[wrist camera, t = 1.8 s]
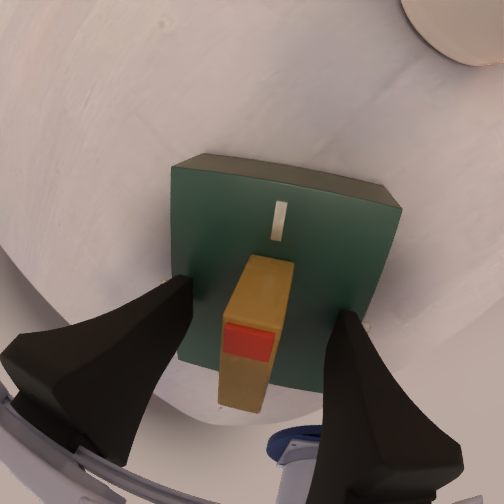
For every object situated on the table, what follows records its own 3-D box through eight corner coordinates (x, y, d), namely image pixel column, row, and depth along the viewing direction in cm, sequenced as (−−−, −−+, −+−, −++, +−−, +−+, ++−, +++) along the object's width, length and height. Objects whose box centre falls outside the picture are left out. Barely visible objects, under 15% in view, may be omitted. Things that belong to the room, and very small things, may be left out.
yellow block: (274, 350, 12) (258, 420, 9) (239, 342, 13) (215, 409, 9) (295, 261, 10) (281, 334, 7) (250, 252, 10) (219, 320, 7)
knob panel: (334, 354, 16) (333, 397, 13) (190, 322, 17) (169, 359, 14) (393, 188, 11) (415, 213, 8) (193, 152, 12) (158, 166, 10)
